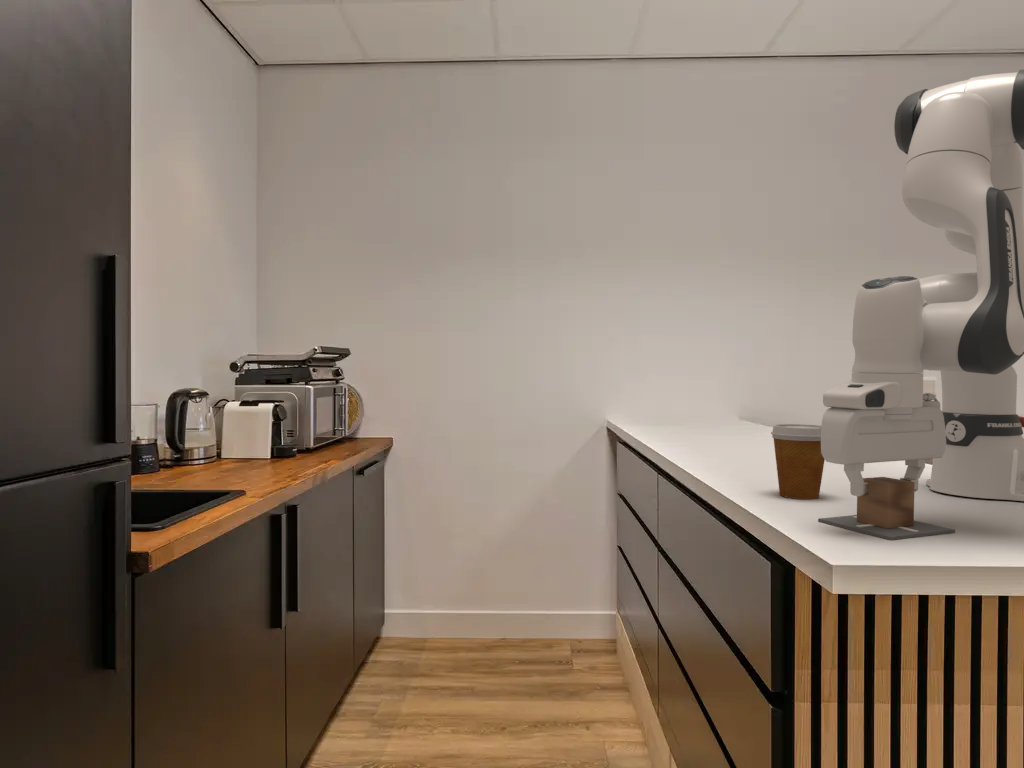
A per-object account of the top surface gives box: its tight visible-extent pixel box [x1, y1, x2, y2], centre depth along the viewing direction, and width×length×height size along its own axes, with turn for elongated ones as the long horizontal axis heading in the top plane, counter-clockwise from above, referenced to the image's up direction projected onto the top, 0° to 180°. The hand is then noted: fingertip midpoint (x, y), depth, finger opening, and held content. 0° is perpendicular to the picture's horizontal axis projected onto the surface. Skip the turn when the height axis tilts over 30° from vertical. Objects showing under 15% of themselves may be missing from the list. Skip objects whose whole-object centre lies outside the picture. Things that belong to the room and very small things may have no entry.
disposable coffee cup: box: [770, 423, 826, 500], centre depth 125 cm, size 10×10×12 cm
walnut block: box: [856, 476, 915, 529], centre depth 101 cm, size 5×5×6 cm
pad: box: [817, 514, 956, 541], centre depth 101 cm, size 12×12×1 cm
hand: (884, 493), depth 102 cm, fingers open, 8 cm apart
